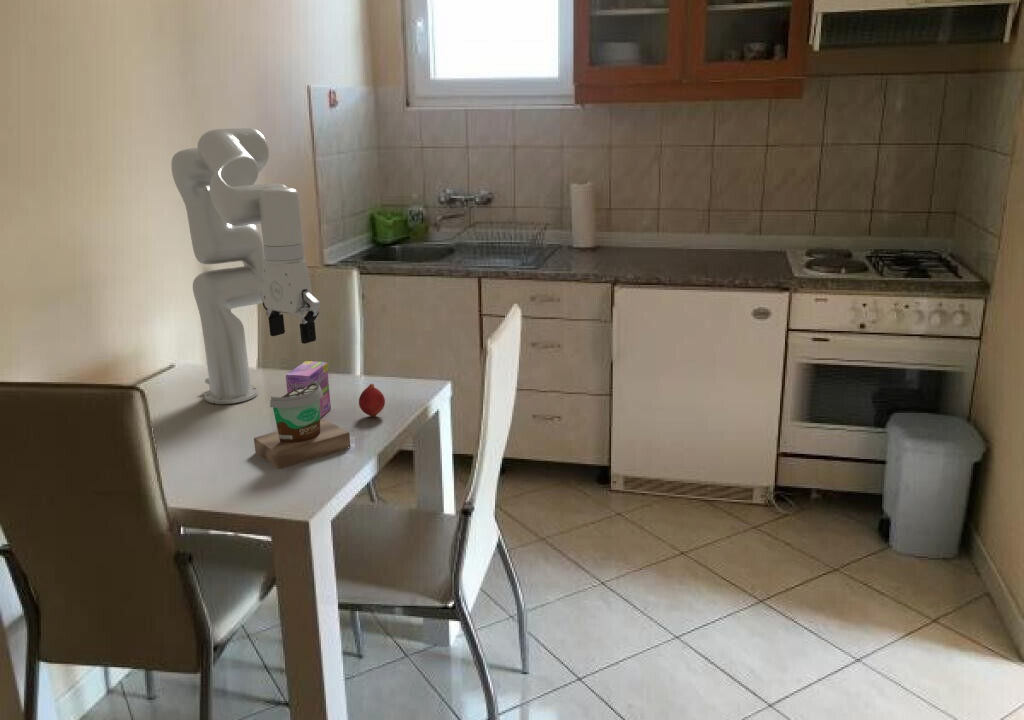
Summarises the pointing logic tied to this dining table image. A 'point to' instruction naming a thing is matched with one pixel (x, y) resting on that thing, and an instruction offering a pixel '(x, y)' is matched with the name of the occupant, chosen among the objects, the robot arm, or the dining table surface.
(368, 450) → the dining table surface
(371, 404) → the onion
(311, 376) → the box
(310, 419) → the food container
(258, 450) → the brown flat block
